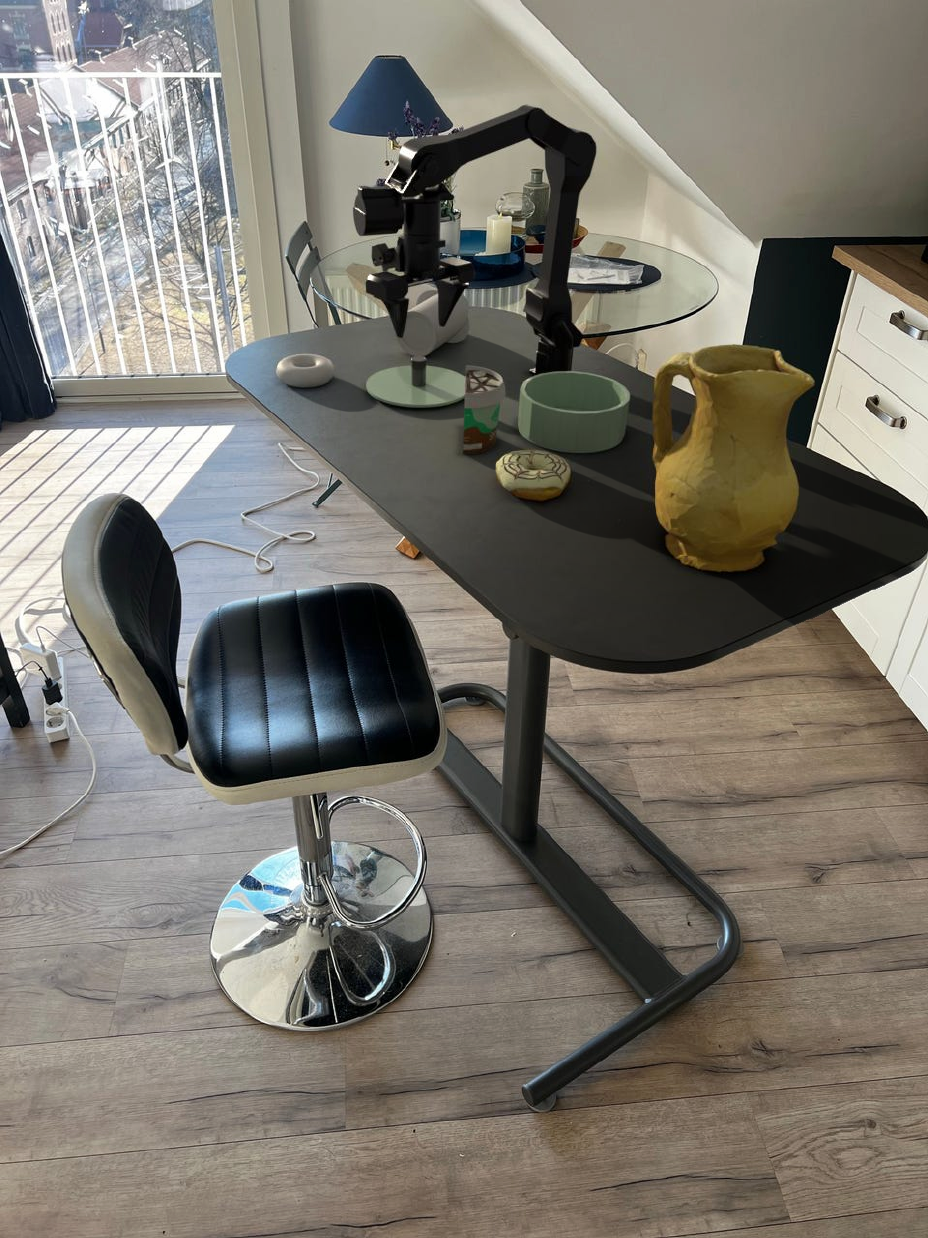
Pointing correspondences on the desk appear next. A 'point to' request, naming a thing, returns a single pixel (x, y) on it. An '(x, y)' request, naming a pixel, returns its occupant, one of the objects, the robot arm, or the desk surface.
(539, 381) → the pot
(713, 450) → the pitcher
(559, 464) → the decorated donut
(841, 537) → the desk surface
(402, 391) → the lid
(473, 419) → the food container
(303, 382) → the donut
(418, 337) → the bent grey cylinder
